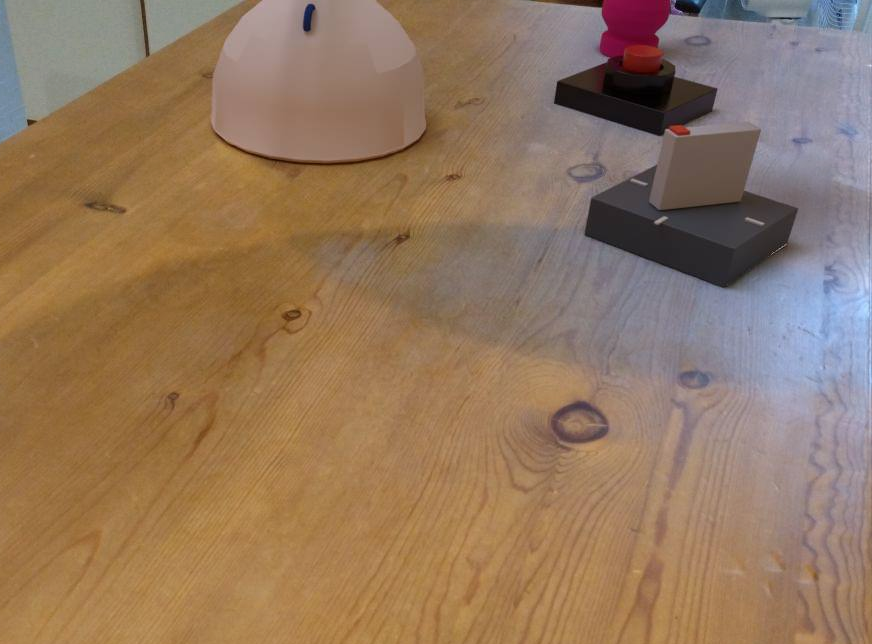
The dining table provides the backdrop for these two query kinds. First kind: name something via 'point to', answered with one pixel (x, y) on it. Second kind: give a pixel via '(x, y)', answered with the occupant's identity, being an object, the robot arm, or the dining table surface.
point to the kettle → (319, 82)
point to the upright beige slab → (703, 165)
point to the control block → (636, 96)
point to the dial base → (691, 229)
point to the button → (642, 58)
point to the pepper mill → (632, 24)
